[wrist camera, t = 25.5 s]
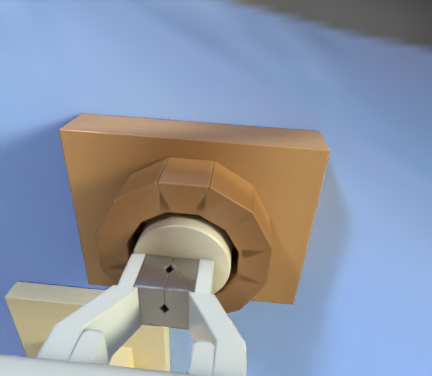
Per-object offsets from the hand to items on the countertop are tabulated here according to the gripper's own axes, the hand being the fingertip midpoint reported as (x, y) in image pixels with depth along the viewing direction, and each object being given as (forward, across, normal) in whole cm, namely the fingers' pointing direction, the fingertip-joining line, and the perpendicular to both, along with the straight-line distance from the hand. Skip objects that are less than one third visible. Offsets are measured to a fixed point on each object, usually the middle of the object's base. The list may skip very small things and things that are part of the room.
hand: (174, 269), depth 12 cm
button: (+2, 0, 0) cm, 2 cm away
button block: (+4, 0, 0) cm, 4 cm away
